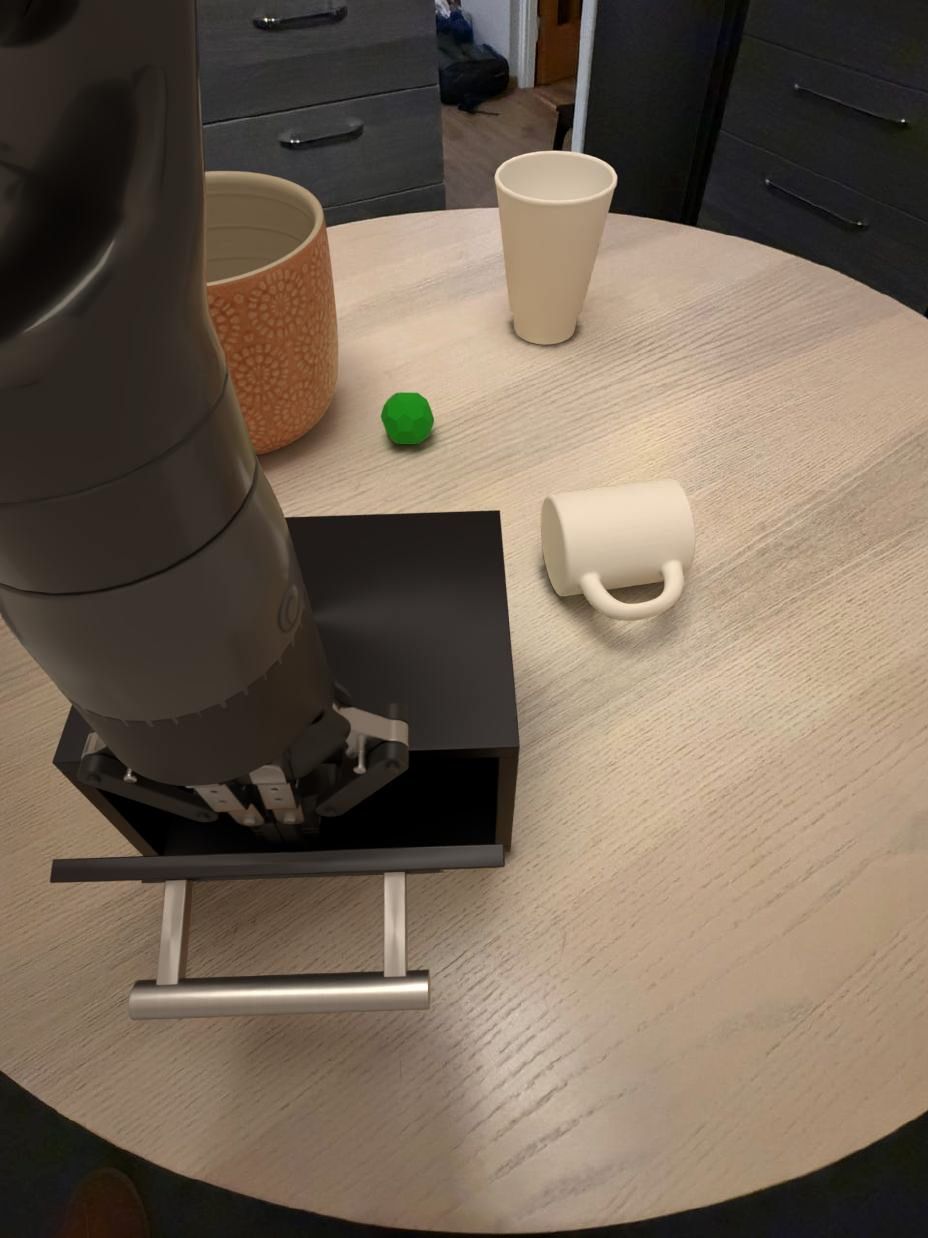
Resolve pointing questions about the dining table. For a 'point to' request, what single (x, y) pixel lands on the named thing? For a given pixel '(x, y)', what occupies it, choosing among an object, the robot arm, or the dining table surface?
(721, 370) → the dining table surface
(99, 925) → the dining table surface
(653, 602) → the mug
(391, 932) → the oven door
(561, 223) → the cup
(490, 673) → the oven
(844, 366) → the dining table surface
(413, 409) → the polyhedron
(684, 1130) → the dining table surface
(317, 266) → the planter
